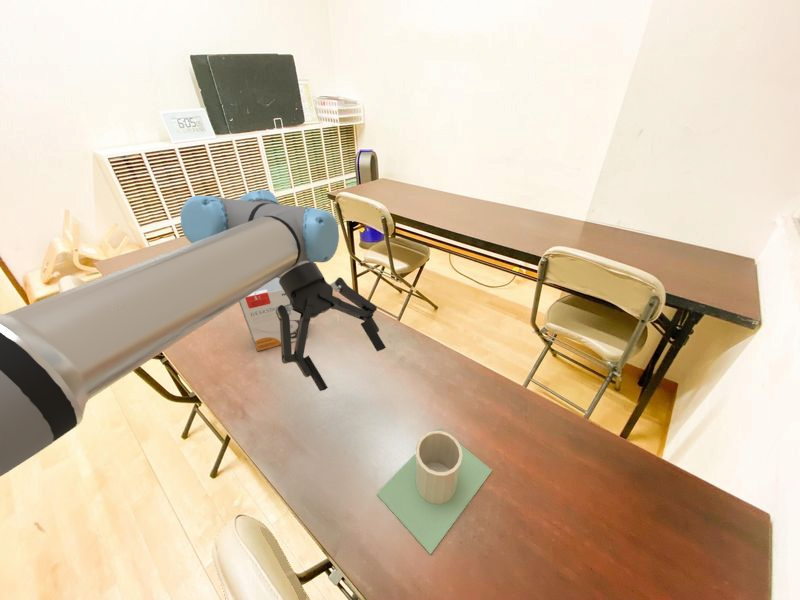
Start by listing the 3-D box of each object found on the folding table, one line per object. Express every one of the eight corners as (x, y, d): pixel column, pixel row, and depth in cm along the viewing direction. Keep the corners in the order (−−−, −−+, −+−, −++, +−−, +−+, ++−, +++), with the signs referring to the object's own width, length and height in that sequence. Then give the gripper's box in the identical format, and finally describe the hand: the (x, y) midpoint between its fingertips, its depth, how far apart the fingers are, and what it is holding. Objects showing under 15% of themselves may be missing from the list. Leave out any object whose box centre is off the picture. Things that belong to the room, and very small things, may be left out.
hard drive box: (256, 352, 97) (235, 299, 85) (255, 337, 102) (235, 284, 90) (308, 337, 102) (295, 285, 90) (304, 323, 107) (291, 272, 95)
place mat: (430, 555, 56) (430, 554, 56) (376, 494, 64) (376, 493, 64) (492, 471, 67) (492, 470, 67) (439, 428, 75) (440, 427, 75)
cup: (439, 514, 61) (442, 486, 54) (406, 481, 66) (406, 452, 59) (465, 481, 65) (471, 451, 59) (433, 453, 70) (435, 422, 64)
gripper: (343, 255, 70) (393, 338, 70) (227, 305, 56) (290, 409, 56) (356, 240, 64) (410, 332, 64) (229, 291, 50) (300, 409, 50)
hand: (354, 368), depth 60 cm, fingers open, 13 cm apart
